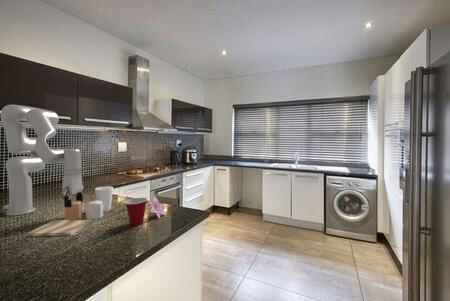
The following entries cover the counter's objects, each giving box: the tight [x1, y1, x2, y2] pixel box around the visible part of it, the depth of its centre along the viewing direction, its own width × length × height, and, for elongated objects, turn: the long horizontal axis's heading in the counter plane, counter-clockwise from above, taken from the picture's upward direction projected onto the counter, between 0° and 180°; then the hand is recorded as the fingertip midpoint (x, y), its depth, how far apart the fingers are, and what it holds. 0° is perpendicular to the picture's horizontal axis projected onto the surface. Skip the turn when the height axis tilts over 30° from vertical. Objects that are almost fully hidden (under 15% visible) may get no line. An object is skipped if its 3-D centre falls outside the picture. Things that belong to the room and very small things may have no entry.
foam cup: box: [94, 186, 114, 212], centre depth 129 cm, size 10×9×13 cm
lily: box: [147, 196, 167, 219], centre depth 119 cm, size 12×12×10 cm
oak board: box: [26, 219, 92, 237], centre depth 101 cm, size 18×16×1 cm
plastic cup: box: [123, 197, 148, 226], centre depth 108 cm, size 11×11×12 cm
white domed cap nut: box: [85, 200, 104, 221], centre depth 116 cm, size 7×7×8 cm
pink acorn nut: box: [63, 200, 83, 220], centre depth 115 cm, size 7×7×8 cm
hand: (74, 204), depth 115 cm, fingers open, 9 cm apart
